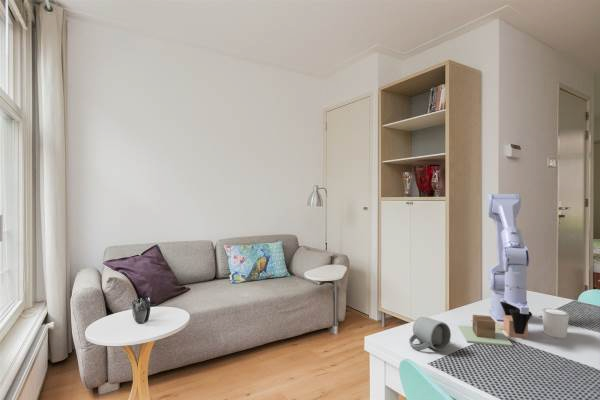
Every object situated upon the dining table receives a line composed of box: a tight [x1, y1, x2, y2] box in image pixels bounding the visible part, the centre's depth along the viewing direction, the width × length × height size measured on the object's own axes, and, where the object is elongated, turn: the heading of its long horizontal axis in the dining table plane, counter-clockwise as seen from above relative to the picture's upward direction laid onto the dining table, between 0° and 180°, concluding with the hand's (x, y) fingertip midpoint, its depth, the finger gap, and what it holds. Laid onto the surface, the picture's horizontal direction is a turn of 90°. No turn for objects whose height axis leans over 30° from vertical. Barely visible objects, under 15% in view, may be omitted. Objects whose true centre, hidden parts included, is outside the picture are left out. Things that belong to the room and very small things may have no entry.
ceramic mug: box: [408, 316, 452, 352], centre depth 95 cm, size 11×8×8 cm
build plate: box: [457, 325, 514, 347], centre depth 102 cm, size 12×12×1 cm
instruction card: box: [470, 319, 504, 331], centre depth 111 cm, size 6×9×1 cm, turn 76°
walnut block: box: [472, 314, 496, 338], centre depth 102 cm, size 5×5×5 cm
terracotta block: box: [503, 315, 529, 339], centre depth 103 cm, size 5×5×5 cm
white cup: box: [541, 308, 570, 339], centre depth 103 cm, size 7×7×7 cm
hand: (515, 329), depth 103 cm, fingers open, 6 cm apart
